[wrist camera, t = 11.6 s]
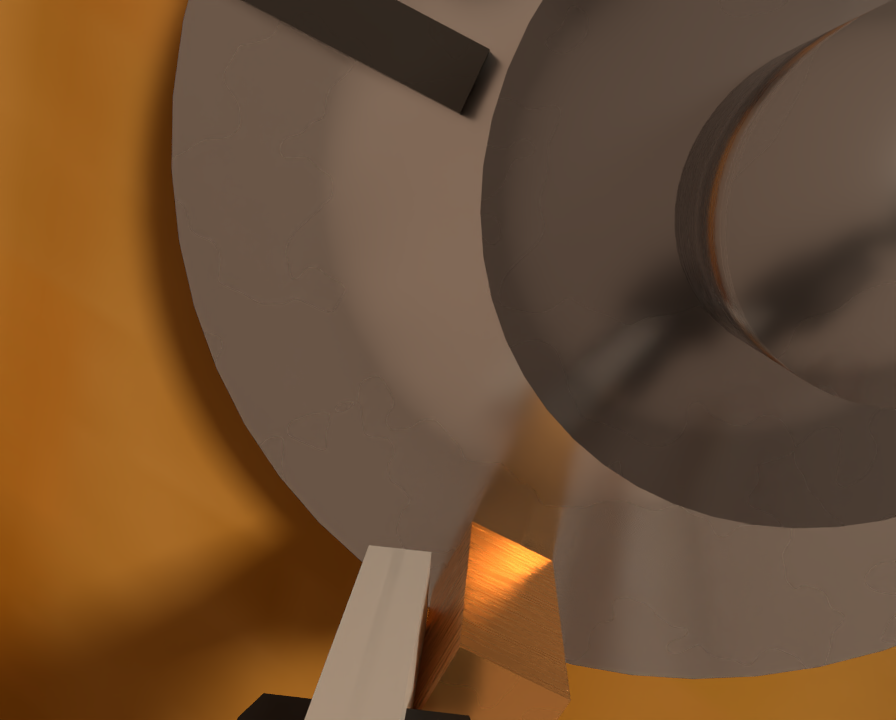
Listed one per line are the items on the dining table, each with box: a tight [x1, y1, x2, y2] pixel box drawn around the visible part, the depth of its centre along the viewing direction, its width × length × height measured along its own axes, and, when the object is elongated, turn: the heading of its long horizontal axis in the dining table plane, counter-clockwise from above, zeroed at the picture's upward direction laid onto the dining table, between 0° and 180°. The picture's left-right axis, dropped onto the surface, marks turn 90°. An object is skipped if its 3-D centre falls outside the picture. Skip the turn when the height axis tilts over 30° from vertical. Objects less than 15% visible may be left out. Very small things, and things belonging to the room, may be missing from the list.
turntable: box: [172, 0, 896, 720], centre depth 11 cm, size 21×21×6 cm
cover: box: [480, 0, 896, 528], centre depth 9 cm, size 9×9×6 cm
